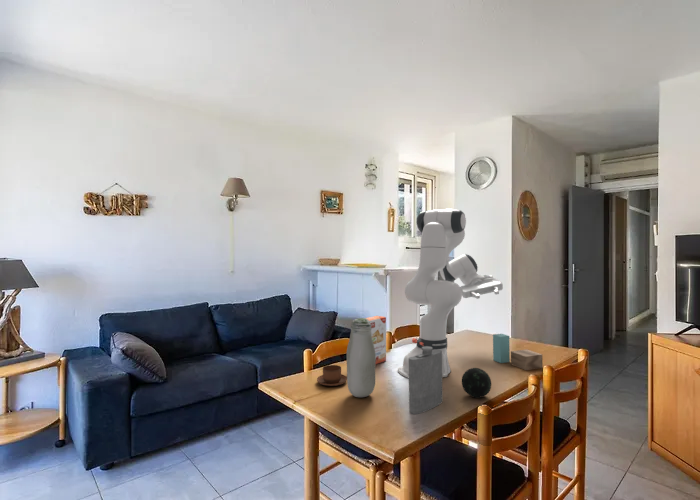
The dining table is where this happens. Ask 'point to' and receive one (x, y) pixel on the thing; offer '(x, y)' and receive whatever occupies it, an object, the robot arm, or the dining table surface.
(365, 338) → the glass bottle
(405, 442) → the dining table surface
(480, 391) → the decorative stone
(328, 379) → the cup and saucer
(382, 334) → the cracker box
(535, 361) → the walnut base
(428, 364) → the hip flask
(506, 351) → the teal block
